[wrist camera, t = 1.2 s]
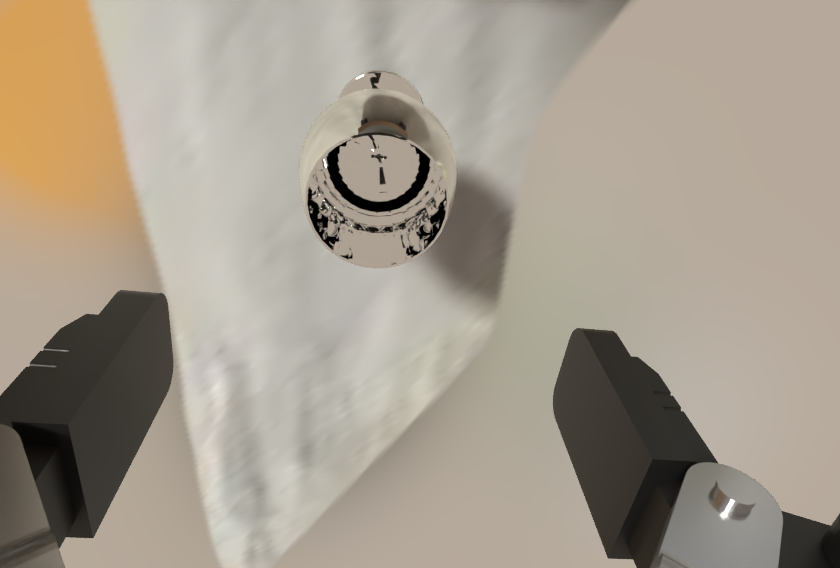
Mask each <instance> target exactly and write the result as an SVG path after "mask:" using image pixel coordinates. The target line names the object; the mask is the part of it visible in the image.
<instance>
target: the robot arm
mask: <svg viewBox="0 0 840 568" xmlns="http://www.w3.org/2000/svg"><path fill="white" fill-rule="evenodd" d="M172 374H173V352H172V342H171V332H170V321H169V311H168V303H167V299H166V297H165V295H164V294H162V293H151V292H138V291H125V290H120V291H119V292H117V293H116V295H114V297H113V298H112V299H111V300H110V302H109V303H108V304H107V306H105V308H104V309H103V310H102V311H101V313H100V314H99V315H94V314H86V315H84V316H82V317H80V318H79V319H77V320H75V321H73V322H71V323H70V324H68V325H66V326H64V327H63V328H61V329H60V330H59V331H58V332H57V333H56V334H55V335H54V336H53V338H52V339H51V340H50V341H49V342H48V343H47V344H46V345H45V347H44V350H43V351H40V352H39V353H38V354H37V355H36V357H35V358H34V359H33V360H32V361H31V362H30V366H29V367H26V368H25V369H24V370H23V371H22V372H21V373H20V374H19V375H18V377H17V378H16V379H15V380H14V381H13V382H12V383H11V384H10V386H9V387H8V388H7V389H6V390H5V391H4V392H3V393H2V395H1V396H0V568H65V566H64V563H63V560H62V557H61V554H60V551H59V548H60V546H61V544H62V543H63V541H64V539H65V537H77V538H94V536H95V534H96V532H97V529H98V528H99V525H100V524H101V522H102V520H103V518H104V516H105V514H106V512H107V510H108V508H109V506H110V504H111V502H112V500H113V498H114V496H115V494H116V492H117V491H118V489H119V487H120V485H121V483H122V481H123V479H124V477H125V475H126V473H127V471H128V469H129V467H130V465H131V463H132V461H133V459H134V457H135V455H136V453H137V451H138V449H139V447H140V446H141V444H142V442H143V439H144V438H145V436H146V434H147V432H148V430H149V428H150V426H151V424H152V421H153V420H154V418H155V416H156V414H157V412H158V410H159V408H160V406H161V404H162V402H163V400H164V398H165V397H166V395H167V392H168V390H169V387H170V384H171V379H172ZM670 393H671V392H670V391H669V389H668V388H667V386H666V385H665V383H664V382H663V380H662V379H661V377H660V376H659V374H658V373H656V372H655V371H654V370H653V369H652V368H651V367H649V366H648V365H647V364H646V363H644V362H643V361H642V360H641V359H639V358H638V357H631V356H630V354H629V353H628V351H627V350H626V348H625V346H624V345H623V343H622V341H621V340H620V338H619V337H618V335H617V334H616V333H615V332H614V331H607V330H595V329H581V328H577V329H575V330H574V331H573V333H572V334H571V337H570V339H569V343H568V346H567V349H566V352H565V356H564V359H563V362H562V366H561V369H560V372H559V375H558V378H557V382H556V385H555V389H554V395H553V410H554V415H555V419H556V422H557V424H558V427H559V429H560V432H561V435H562V438H563V440H564V443H565V446H566V448H567V451H568V454H569V456H570V459H571V461H572V464H573V467H574V469H575V472H576V475H577V477H578V480H579V483H580V485H581V488H582V490H583V493H584V496H585V499H586V501H587V504H588V507H589V509H590V512H591V514H592V517H593V520H594V522H595V525H596V528H597V530H598V533H599V536H600V538H601V541H602V544H603V546H604V548H605V552H606V554H607V557H608V558H613V559H633V560H634V562H635V564H636V567H637V568H840V514H839V515H838V517H837V518H836V520H835V521H834V522H833V524H832V525H831V526H829V525H826V524H823V523H820V522H816V521H812V520H810V519H806V518H803V517H800V516H796V515H793V514H790V513H787V512H783V511H781V509H780V507H779V505H778V503H777V502H776V500H775V499H774V497H773V496H772V495H771V494H770V493H769V492H768V491H767V490H766V489H765V488H764V487H763V486H762V485H761V484H760V483H758V482H757V481H756V480H754V479H753V478H751V477H749V476H748V475H747V474H745V473H743V472H741V471H739V470H737V469H734V468H732V467H729V466H726V465H723V464H718V462H717V461H716V459H715V458H714V456H713V455H712V453H711V452H710V450H709V449H708V447H707V446H706V444H705V443H704V441H703V440H702V438H701V437H700V435H699V434H698V432H697V431H696V429H695V428H694V426H693V425H692V423H691V422H690V421H689V419H688V417H687V416H686V414H685V413H684V412H681V407H680V405H679V404H678V402H677V401H676V400H675V398H674V397H673V396H671V395H670Z"/></svg>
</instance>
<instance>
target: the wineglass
mask: <svg viewBox="0 0 840 568" xmlns="http://www.w3.org/2000/svg"><path fill="white" fill-rule="evenodd" d="M456 183H457V166H456V159H455V153H454V150H453V147H452V143H451V140H450V137H449V135H448V133H447V131H446V130H445V128H444V126H443V125H442V123H441V122H440V120H439V119H438V118H437V117H436V116H435V114H434V113H433V112H432V111H430V110H429V109H428V108H427V107H426V106H424V105H423V103H422V101H421V98H420V96H419V94H418V92H417V90H416V89H415V88H414V86H413V85H412V84H411V83H410V82H409V81H407V80H406V79H405V78H403V77H401V76H399V75H398V74H396V73H393V72H388V71H384V70H375V71H369V72H366V73H362V74H360V75H359V76H357V77H355V78H353V79H352V80H351V81H350V82H349V83H348V84H347V85H346V86H345V88H344V89H343V91H342V92H341V94H340V96H339V99H338V100H336V101H335V102H333V103H332V104H330V105H329V106H328V107H327V108H326V109H325V110H324V111H323V112H322V113H321V114H320V115H319V116H318V117H317V118H316V119H315V121H314V122H313V124H312V125H311V127H310V129H309V131H308V133H307V135H306V137H305V140H304V143H303V146H302V150H301V155H300V161H299V189H300V195H301V200H302V204H303V208H304V211H305V214H306V216H307V219H308V221H309V223H310V225H311V227H312V229H313V231H314V233H315V235H316V237H317V238H318V239H319V240H320V241H321V242H322V243H323V245H324V246H325V247H326V248H327V249H328V250H330V251H331V252H332V253H334V254H335V255H336V256H338V257H339V258H341V259H343V260H345V261H347V262H349V263H352V264H354V265H358V266H362V267H369V268H388V267H393V266H399V265H401V264H404V263H407V262H409V261H412V260H413V259H415V258H417V257H418V256H420V255H421V254H423V253H424V252H425V251H426V250H427V249H428V248H430V247H431V246H432V245H433V244H434V242H435V241H436V239H437V238H438V237H439V235H440V234H441V232H442V230H443V228H444V226H445V224H446V222H447V220H448V218H449V215H450V212H451V209H452V206H453V202H454V197H455V190H456Z"/></svg>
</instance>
